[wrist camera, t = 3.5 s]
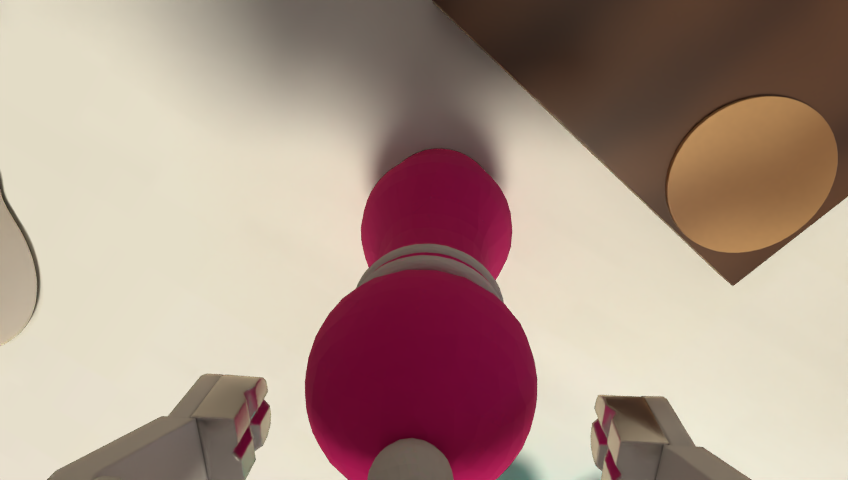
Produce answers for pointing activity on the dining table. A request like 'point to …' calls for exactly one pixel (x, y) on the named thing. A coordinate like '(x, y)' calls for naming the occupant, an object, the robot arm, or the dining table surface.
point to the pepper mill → (425, 335)
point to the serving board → (692, 105)
